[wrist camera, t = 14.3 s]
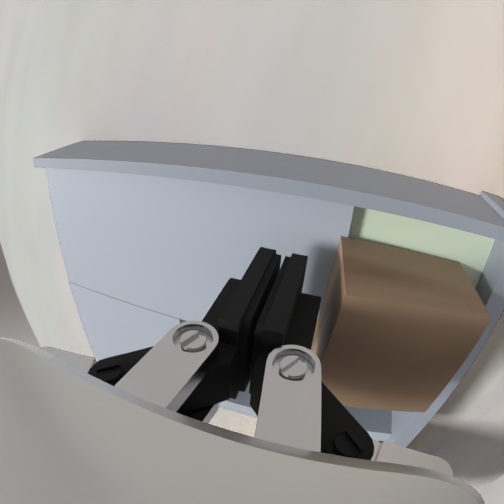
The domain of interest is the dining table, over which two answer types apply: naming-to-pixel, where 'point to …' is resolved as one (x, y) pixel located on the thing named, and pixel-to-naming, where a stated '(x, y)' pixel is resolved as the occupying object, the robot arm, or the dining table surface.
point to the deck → (246, 238)
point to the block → (394, 326)
